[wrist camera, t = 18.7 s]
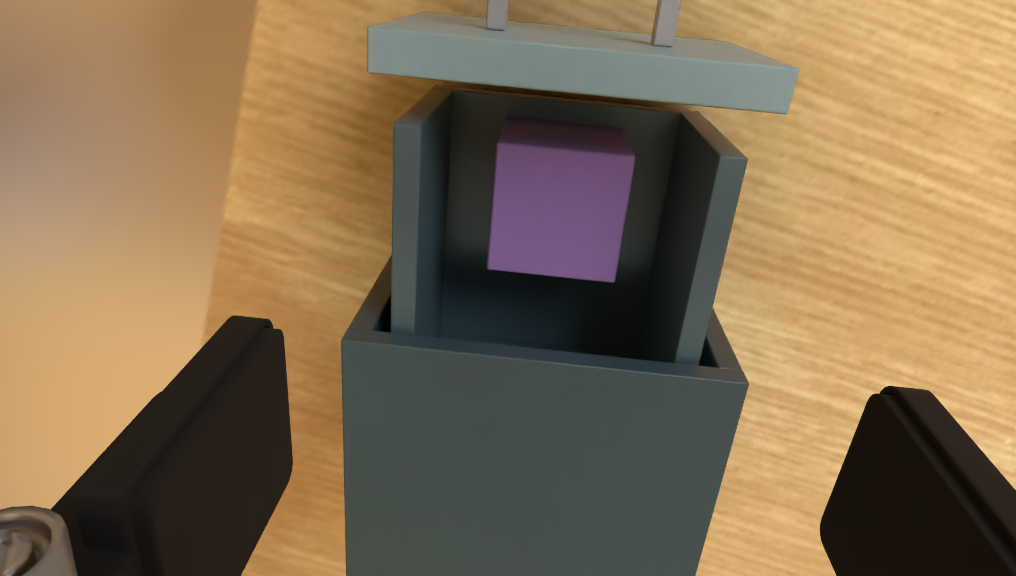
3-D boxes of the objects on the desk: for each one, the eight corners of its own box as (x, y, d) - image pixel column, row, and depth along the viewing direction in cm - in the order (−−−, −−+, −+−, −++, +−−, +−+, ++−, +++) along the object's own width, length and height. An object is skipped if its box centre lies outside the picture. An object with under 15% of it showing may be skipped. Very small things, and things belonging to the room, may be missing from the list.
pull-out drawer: (425, -151, 23) (366, -209, 16) (764, -120, 23) (860, -165, 15) (410, 332, 31) (367, 439, 24) (662, 359, 30) (695, 475, 23)
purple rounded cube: (496, 227, 27) (486, 270, 23) (505, 115, 25) (496, 142, 21) (606, 238, 27) (614, 284, 23) (623, 127, 25) (636, 156, 21)
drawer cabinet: (403, 232, 30) (340, 339, 21) (692, 262, 29) (750, 383, 21) (398, 491, 36) (347, 657, 27) (636, 518, 35) (662, 694, 27)
